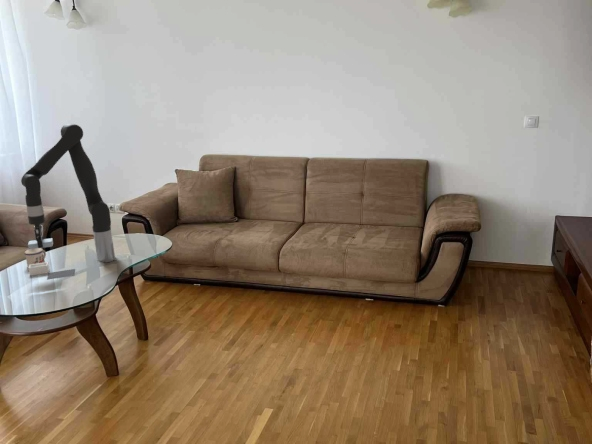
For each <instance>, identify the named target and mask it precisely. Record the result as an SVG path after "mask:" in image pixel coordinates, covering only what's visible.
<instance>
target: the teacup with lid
mask: <svg viewBox="0 0 592 444" xmlns="http://www.w3.org/2000/svg"><path fill="white" fill-rule="evenodd" d="M24 255H25V260H26V264H27V268H29V265H30V264H37V263H44V262H46V261H45V258H46V257H47V256H46V255H47V253H46V250H44V249H43V248H36V249H29V248H28V249H27V250H25V251H24Z"/></svg>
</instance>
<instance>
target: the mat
mask: <svg viewBox="0 0 592 444" xmlns="http://www.w3.org/2000/svg"><path fill="white" fill-rule="evenodd" d="M75 274H76V268H71V269H65V270H58V271H52V272H49V273H47V278H46V280H54V279H61V278H68V277H74V276H75Z"/></svg>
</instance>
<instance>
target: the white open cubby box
mask: <svg viewBox="0 0 592 444" xmlns="http://www.w3.org/2000/svg"><path fill="white" fill-rule="evenodd" d="M27 269H28V273H29V276H36V275H41V274H48V273H50V270H51V269H50V264H49V262H48V261H45V262H44V263H37V264H30V265H29V267H27Z"/></svg>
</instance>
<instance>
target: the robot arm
mask: <svg viewBox="0 0 592 444" xmlns="http://www.w3.org/2000/svg"><path fill="white" fill-rule="evenodd" d="M60 136H61V137H60V139H59V140H58V141H57V142H56V144H54V146H52V147H51V148H50V149H49V150H47V151H46V152H45V153H44V154H43V155H42V156H41V157H40V158H39V159H38V160H37V162H36V163H35V164H34V165H33V166H31V167H30V168H29V169H28V170H27V171H26V172H25V173H24V174H23V175H22V176H21V180H20V182H21V185H22V186H23V187H24V188H25V193H26V195H25V204H26V213H27V220H28V224H29V225H33V232H34V236H35V240H36V241H37V244H38V248H41V249H43V244H42V239H44V237H43V236H44V227H43V224H44V223H46V217H45V211H44V206H43V201H42V197H41V196H42V195H41V194H42V193H41V192H42V191H41V190H42V189H41V188H42V187H41V180H40V179H41V178H42V177H43V176H47V174H49V173H50V172H51V170H52V169H53V168H54V166H55V165H56V164H57V163H58V162H59V161H60V160H61V158H62V157H63V156H64V155H65V154H66V153H67V152H68V155H69V157H70V160H71V163H72V166H73V169H74V170H73V171H74V172H75V175H76V178H77V180H78V182H79V185H80V187H81V189H82V191H83V193H84V196H85V201H86V204H87V209H88V212H89V213H90V215H91V218H92V231H93V232H92V233H93V239H94V246H95V252H96V259H97V261H98V262H103V263H110V262H113V260H114V261H116V255H115V254H116V253H115V248H114V247H115V246H114V241H113V235H112V234H113V233H112V225H111V224H112V220H111V213H110V209H109V205H108V204H107V203H105V201H104V200H103V198H102V196H101V193H100V190H99V186H98V179H97V173H96V171H95V169H94V166H93V165H94V164H93V163H92V161H91V159H90V158H89V156H88V154H87V153H86V151H85V150H84V147H83V144H82V141H81V140H82V139H83V137H84V130H83V129H82V127H81V126H80V125H78V124H75V123H66V124H63V125H62V126H61V129H60Z"/></svg>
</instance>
